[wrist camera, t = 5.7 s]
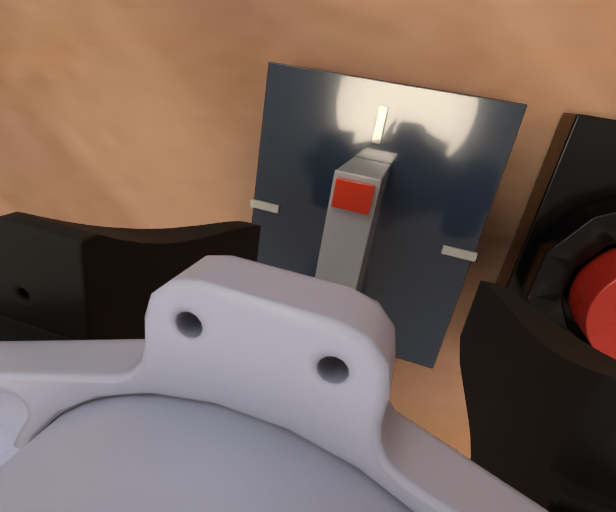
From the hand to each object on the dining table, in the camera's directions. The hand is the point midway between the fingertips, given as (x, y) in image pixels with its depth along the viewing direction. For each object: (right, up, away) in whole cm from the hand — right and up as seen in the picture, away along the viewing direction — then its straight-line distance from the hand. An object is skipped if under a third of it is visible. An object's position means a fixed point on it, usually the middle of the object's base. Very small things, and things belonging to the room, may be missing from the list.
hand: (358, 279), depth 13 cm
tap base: (+1, +3, +7) cm, 8 cm away
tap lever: (+1, +2, +5) cm, 5 cm away
